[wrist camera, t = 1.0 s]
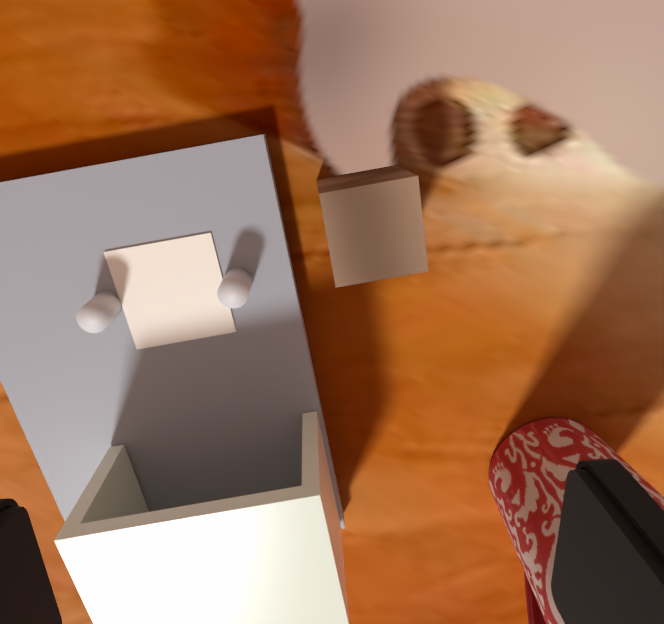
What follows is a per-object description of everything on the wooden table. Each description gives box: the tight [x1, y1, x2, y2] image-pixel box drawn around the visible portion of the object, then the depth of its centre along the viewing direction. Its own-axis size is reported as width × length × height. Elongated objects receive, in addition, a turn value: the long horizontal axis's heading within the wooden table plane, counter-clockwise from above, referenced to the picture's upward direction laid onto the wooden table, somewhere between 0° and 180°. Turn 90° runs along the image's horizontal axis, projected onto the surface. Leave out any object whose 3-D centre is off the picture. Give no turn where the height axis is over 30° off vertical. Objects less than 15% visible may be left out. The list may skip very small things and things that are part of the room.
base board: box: [0, 134, 345, 529], centre depth 27 cm, size 16×23×3 cm
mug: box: [489, 418, 664, 624], centre depth 26 cm, size 13×9×14 cm
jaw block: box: [317, 165, 428, 288], centre depth 23 cm, size 4×4×5 cm
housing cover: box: [54, 411, 349, 624], centre depth 26 cm, size 12×8×7 cm
